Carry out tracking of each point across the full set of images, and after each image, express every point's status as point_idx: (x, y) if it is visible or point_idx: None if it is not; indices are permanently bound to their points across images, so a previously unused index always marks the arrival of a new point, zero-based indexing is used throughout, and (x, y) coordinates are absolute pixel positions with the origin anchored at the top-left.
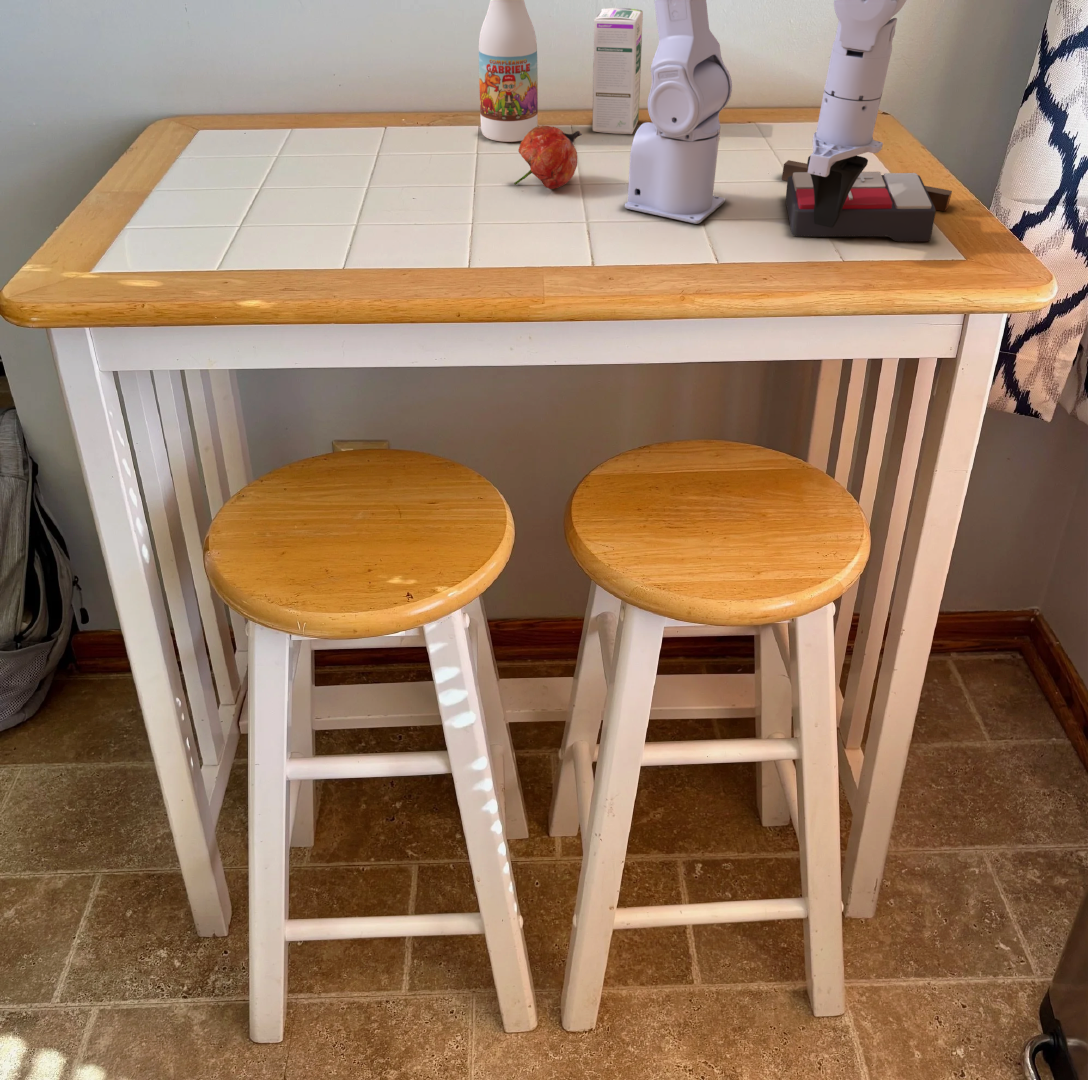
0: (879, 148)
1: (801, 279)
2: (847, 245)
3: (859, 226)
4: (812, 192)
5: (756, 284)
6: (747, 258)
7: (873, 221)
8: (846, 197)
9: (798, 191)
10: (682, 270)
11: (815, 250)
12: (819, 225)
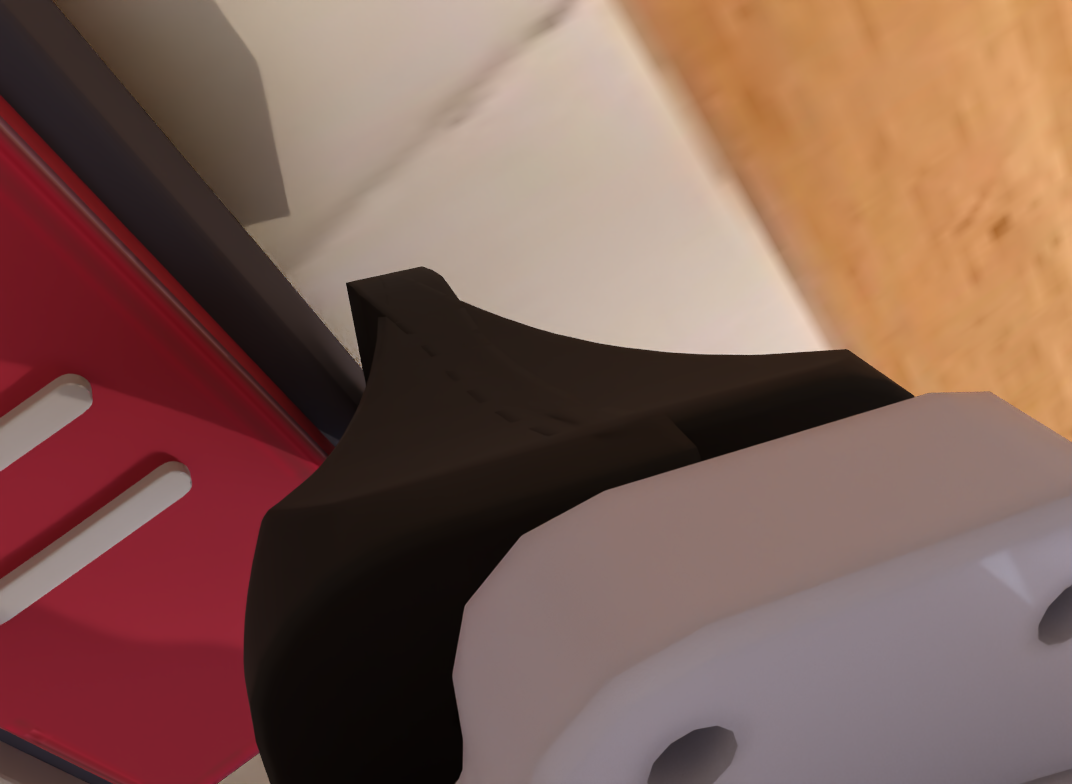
0: (1004, 464)
1: (952, 69)
2: (297, 94)
3: (135, 117)
4: (164, 709)
5: (1059, 223)
6: None
7: (29, 6)
8: (404, 355)
9: (217, 774)
10: None
11: (536, 232)
12: (363, 384)
